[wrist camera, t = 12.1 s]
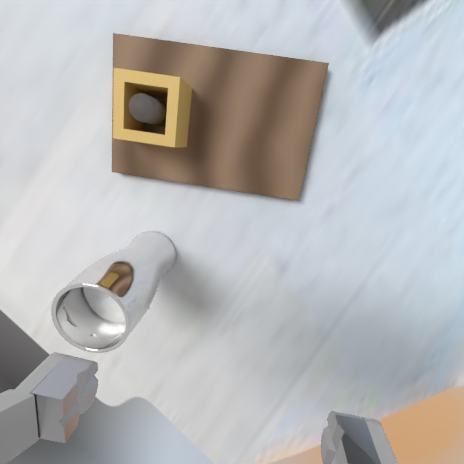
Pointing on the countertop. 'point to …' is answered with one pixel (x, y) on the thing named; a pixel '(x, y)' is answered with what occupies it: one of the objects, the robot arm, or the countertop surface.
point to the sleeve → (142, 82)
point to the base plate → (224, 117)
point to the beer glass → (112, 294)
